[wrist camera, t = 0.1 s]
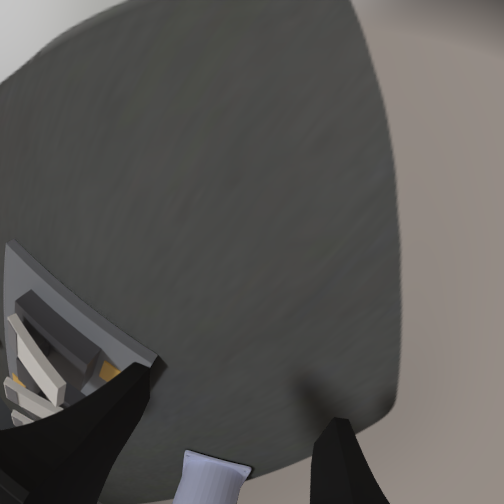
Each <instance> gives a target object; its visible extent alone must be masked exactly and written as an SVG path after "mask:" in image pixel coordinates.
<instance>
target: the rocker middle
mask: <svg viewBox="0 0 504 504" xmlns="http://www.w3.org/2000/svg"><path fill="white" fill-rule="evenodd" d="M4 387H5V392H6V396H7V398H8V399H9V400H11V401H13V402H14V403H16V404H17V405H20V406H21V407H23V408H25V409H26V410H28V411H30V412H32V413H33V414H35V415H37V416H39V417H41V418H45V417H48V416H50V415H52V414H55V413H57V412H59V411H61V410H63V408H61V407H59V406H58V407H55V406H54V405H53V403H51V402H49V401H47V400H46V399H44V398H42V397H40V396H38V395H37V394H35V393H33V392H31V391H30V390H28V389H26V388H25V387H23V386H21V385H20V384H18V383H16V382H15V381H13V380H12V379H10V378H9V377H6V379H5V381H4Z"/></svg>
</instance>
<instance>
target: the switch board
mask: <svg viewBox="0 0 504 504" xmlns="http://www.w3.org/2000/svg"><path fill="white" fill-rule="evenodd" d="M15 313H16V314H17V316H18V317H19V319H20V320H21V322H22V324H23V325H24V327H25V328H26V330H27V331H28V333H29V334H30V336H31V337H32V339H33V340H34V341H35V343H36V344H37V346H38V347H39V349H40V350H41V351H42V353H43V354H44V355H45V357H46V358H47V359H48V361H49V362H50V363H51V365H52V366H53V367H54V369H55V370H56V371H57V372H58V374H59V375H60V376H61V377H62V378H63V380H64V381H65V382H66V389H65V396H64V403H62V404H61V405H59V407H61V408H63V409H65V408H67V407H69V406H71V405H73V404H74V403H76V402H78V401H80V400H81V399H83V398H84V397H86V396H88V395H89V394H91V393H93V392H94V391H96V390H97V389H98V388H100V387H101V386H103V385H104V384H106V383H107V382H108V381H110V380H111V379H112V378H114V377H115V376H116V375H118V374H119V373H120V372H122V371H123V370H124V369H125V368H127V367H128V366H129V365H130V364H132V363H133V362H138V363H140V364H143V365H145V366H148V367H151V365H152V364H153V362H154V360H155V359H156V357H157V354H156V353H154V352H153V351H151V350H149V349H148V348H146V347H145V346H144V345H142V344H141V343H139V342H138V341H136V340H135V339H133V338H132V337H130V336H129V335H128V334H126V333H125V332H123V331H122V330H121V329H119V328H118V327H116V326H115V325H114V324H112V323H111V322H110V321H108V320H107V319H106V318H104V317H103V316H102V315H100V314H99V313H98V312H96V311H95V310H94V309H93V308H91V307H90V306H89V305H88V304H86V303H85V302H84V301H83V300H81V299H80V298H79V297H78V296H76V295H75V294H74V293H73V292H72V291H70V290H69V289H68V288H67V287H66V286H64V285H63V284H62V283H61V282H60V281H59V280H58V279H56V278H55V277H54V276H53V275H52V274H51V273H50V272H49V271H47V270H46V269H45V268H44V267H43V266H42V265H41V264H40V263H39V262H38V261H37V260H35V259H34V258H33V257H32V256H31V255H30V254H29V253H28V252H27V251H26V250H25V249H24V248H23V247H22V246H21V245H20V244H19V243H18V242H17V241H16V240H15V239H13V240H11V241H9V242H7V243H6V250H5V264H4V326H5V340H6V351H7V360H8V368H9V375H10V379H12V380H13V381H15V382H16V383H18V384H20V385H21V386H23V387H25V388H26V389H28V390H30V391H31V392H33V393H35V394H37V395H38V396H40V397H42V398H44V399H46V400H47V401H49V402H51V401H50V400H49V399H48V397H47V396H46V395H45V393H44V392H43V391H42V390H41V388H40V387H39V386H38V384H37V383H36V382H35V380H34V379H33V378H32V376H31V375H30V373H29V372H28V371H27V369H26V368H25V366H24V365H23V363H22V362H21V360H20V359H19V357H18V356H17V355H16V354H15V352H14V351H13V349H12V347H11V346H10V344H9V339H8V316H10V315H13V314H15ZM149 369H150V368H149ZM51 403H52V402H51ZM22 409H24V410H25V411H26V412H27V413H28V414H29V415H30V416H32V417H33V418H34V419H35V420H36V421H37V420H40V419H43V418H41V417H39V416H37V415H35V414H33V413H32V412H30V411H28V410H26V409H25V408H23V407H22Z"/></svg>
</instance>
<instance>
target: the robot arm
mask: <svg viewBox="0 0 504 504" xmlns="http://www.w3.org/2000/svg"><path fill="white" fill-rule="evenodd" d="M149 368H150V367H148V366H145V365H143V364H140V363H138V362H133V363H132V364H130V365H129V366H128V367H127V368H125V369H124V370H123V371H122V372H120V373H119V374H118V375H116V376H115V377H114V378H112V379H111V380H110V381H108V382H107V383H106V384H104V385H103V386H101V387H100V388H98V389H97V390H96V391H94V392H93V393H91V394H89V395H88V396H86V397H84V398H83V399H81V400H80V401H78V402H76V403H74V404H73V405H71V406H69V407H67V408H65V409H63V410H61V411H59V412H57V413H55V414H52V415H50V416H48V417H45V418H43V419H40V420H37V421H35V422H32V423H28V424H25V425H21V426H17V427H14V428H10V429H5V430H0V504H97V501H98V498H99V496H100V493H101V491H102V488H103V486H104V484H105V481H106V479H107V477H108V474H109V472H110V470H111V468H112V466H113V464H114V462H115V460H116V458H117V457H118V455H119V453H120V452H121V450H122V448H123V447H124V445H125V444H126V442H127V440H128V439H129V437H130V435H131V434H132V432H133V431H134V429H135V427H136V426H137V424H138V422H139V421H140V419H141V417H142V415H143V412H144V410H145V408H146V406H147V403H148V401H149V399H150V392H149ZM250 472H251V467H249V466H245V465H240V464H236V463H232V462H228V461H224V460H220V459H217V458H213V457H209V456H206V455H203V454H199V453H196V452H193V451H190V450H186V451H185V454H184V463H183V472H182V478H181V481H180V484H179V486H178V489H177V492H176V494H175V497H174V500H173V502H172V504H237V500H238V495H239V491H240V488H241V486H242V485H243V483H244V482H245V480H246V478H247V477H248V475H249V473H250ZM310 504H390V503H389V502H388V500H387V499H386V497H385V496H384V494H383V492H382V491H381V489H380V487H379V485H378V483H377V482H376V480H375V478H374V476H373V474H372V472H371V470H370V468H369V466H368V464H367V461H366V459H365V457H364V455H363V453H362V450H361V448H360V446H359V443H358V441H357V439H356V436H355V434H354V431H353V429H352V426H351V424H350V422H349V420H348V419H342V418H336V417H334V418H333V419H332V421H331V422H330V423H329V425H328V426H327V427H326V429H325V430H324V431H323V433H322V434H321V435H320V437H319V438H318V439H317V441H316V442H315V443H314V449H313V455H312V462H311V485H310Z"/></svg>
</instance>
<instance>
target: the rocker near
mask: <svg viewBox="0 0 504 504" xmlns="http://www.w3.org/2000/svg"><path fill="white" fill-rule="evenodd" d="M8 339H9V344H10V346H11V347H12V349H13V351H14V352H15V354H16V355H17V356H18V357H19V359H20V360H21V362H22V363H23V365H24V366H25V368H26V369H27V371H28V372H29V373H30V375H31V376H32V378H33V379H34V380H35V382H36V383H37V384H38V386H39V387H40V388H41V390H42V391H43V392H44V393H45V395H46V396H47V397H48V399H49V400H50V401H51V402H52V403H53V405H54V406H55V407H58V406H59V405H61V404H62V403H64V396H65V389H66V382H65V381H64V380H63V378H62V377H61V376H60V375H59V374H58V372H57V371H56V370H55V369H54V367H53V366H52V365H51V363H50V362H49V361H48V359H47V358H46V357H45V355H44V354H43V353H42V351H41V350H40V349H39V347H38V346H37V344H36V343H35V341H34V340H33V339H32V337H31V336H30V334H29V333H28V331H27V330H26V328H25V327H24V325H23V324H22V322H21V320H20V319H19V317H18V316H17V314H16V313H15V314H13V315H10V316H8Z"/></svg>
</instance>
